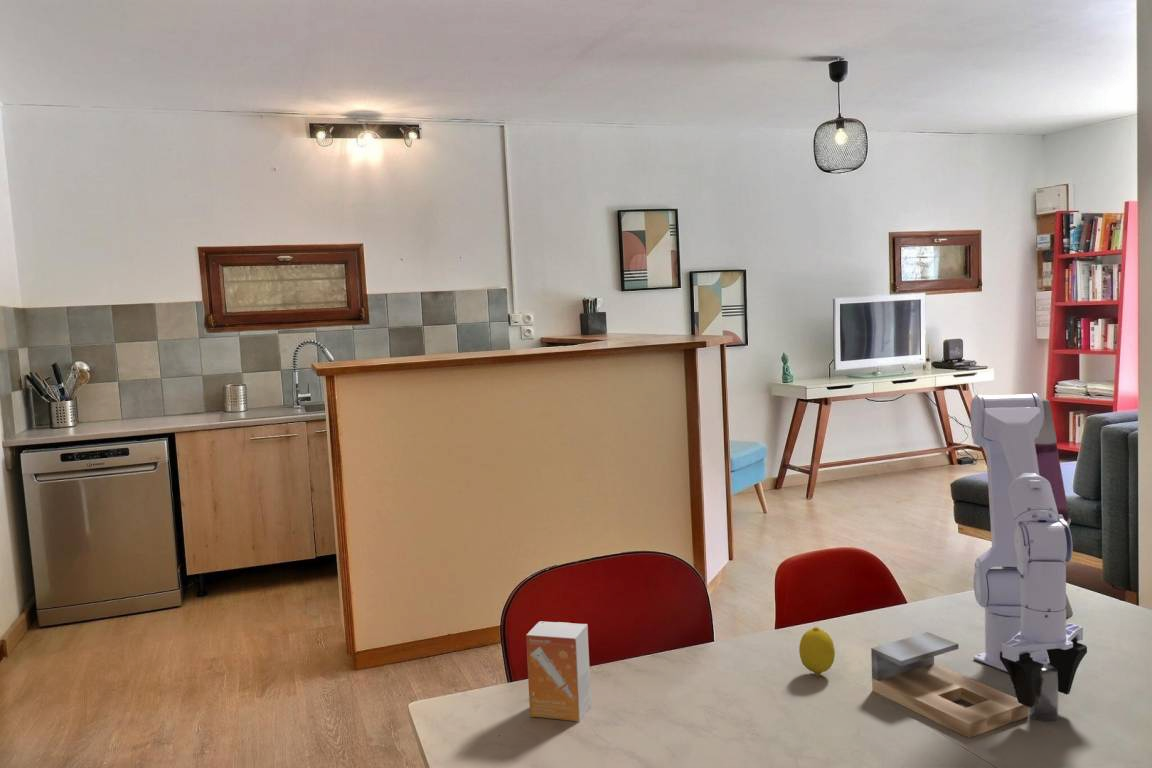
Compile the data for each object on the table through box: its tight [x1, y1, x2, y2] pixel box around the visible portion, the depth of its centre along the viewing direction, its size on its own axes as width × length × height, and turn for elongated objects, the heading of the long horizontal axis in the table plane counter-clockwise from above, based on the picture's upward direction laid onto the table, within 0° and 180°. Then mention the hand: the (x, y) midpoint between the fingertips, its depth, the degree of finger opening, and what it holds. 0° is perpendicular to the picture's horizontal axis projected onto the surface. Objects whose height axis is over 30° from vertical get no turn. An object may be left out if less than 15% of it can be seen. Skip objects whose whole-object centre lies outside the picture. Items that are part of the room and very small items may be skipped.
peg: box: [1029, 663, 1059, 723], centre depth 128 cm, size 4×4×7 cm
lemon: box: [798, 626, 836, 676], centre depth 146 cm, size 6×6×8 cm
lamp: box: [1034, 398, 1073, 619], centre depth 168 cm, size 11×11×40 cm
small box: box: [525, 620, 592, 723], centre depth 137 cm, size 8×6×13 cm
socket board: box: [870, 631, 1029, 739], centre depth 134 cm, size 12×18×7 cm, turn 26°
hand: (1043, 697), depth 128 cm, fingers open, 7 cm apart
